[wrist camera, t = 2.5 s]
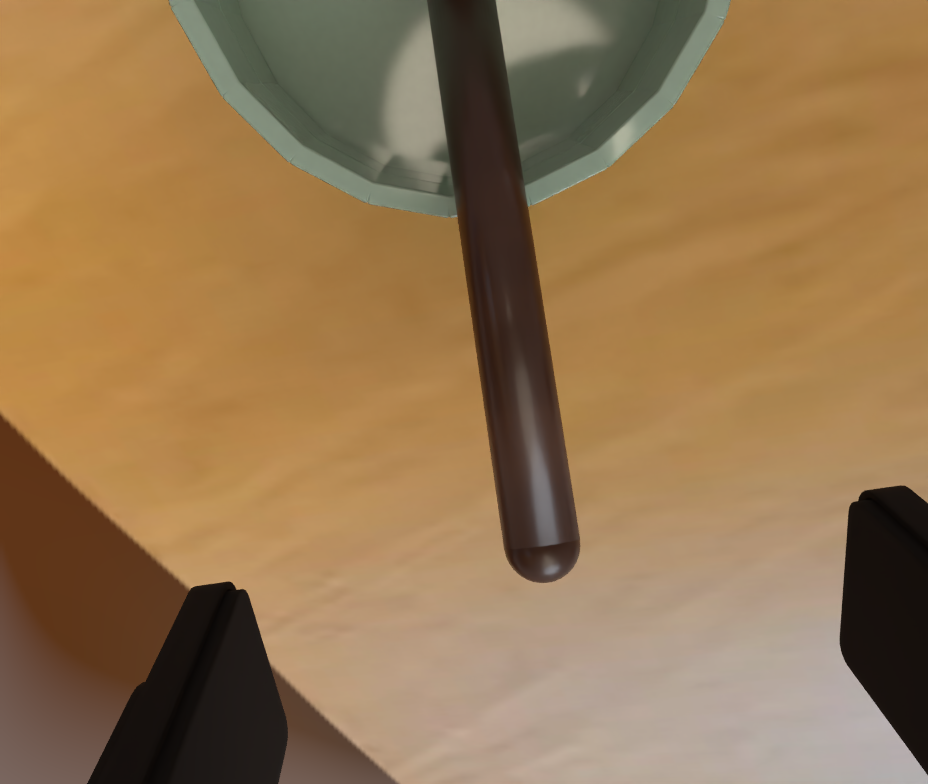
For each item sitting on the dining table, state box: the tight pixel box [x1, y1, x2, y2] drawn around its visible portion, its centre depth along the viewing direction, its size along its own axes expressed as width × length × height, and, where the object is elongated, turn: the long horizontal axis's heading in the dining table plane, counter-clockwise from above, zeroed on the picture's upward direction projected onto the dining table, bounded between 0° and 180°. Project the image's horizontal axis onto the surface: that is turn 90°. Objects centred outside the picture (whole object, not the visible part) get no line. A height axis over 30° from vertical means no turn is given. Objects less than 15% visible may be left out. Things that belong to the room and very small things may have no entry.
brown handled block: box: [427, 0, 580, 583], centre depth 18 cm, size 21×4×11 cm, turn 8°
